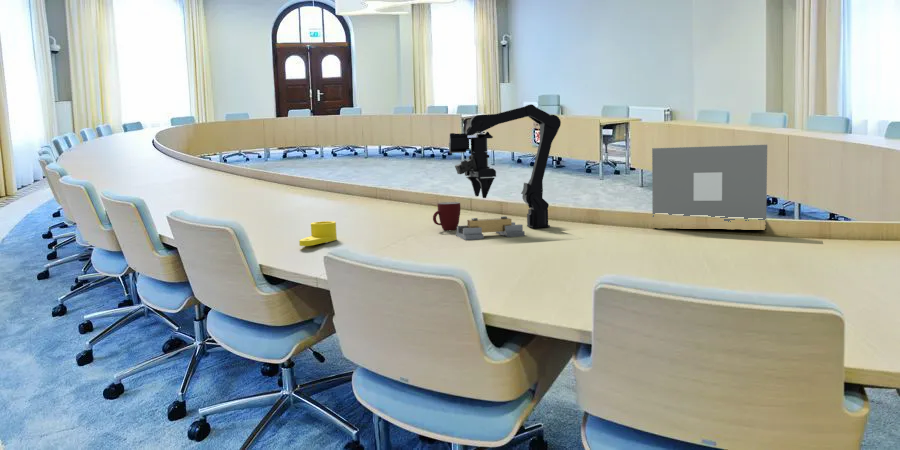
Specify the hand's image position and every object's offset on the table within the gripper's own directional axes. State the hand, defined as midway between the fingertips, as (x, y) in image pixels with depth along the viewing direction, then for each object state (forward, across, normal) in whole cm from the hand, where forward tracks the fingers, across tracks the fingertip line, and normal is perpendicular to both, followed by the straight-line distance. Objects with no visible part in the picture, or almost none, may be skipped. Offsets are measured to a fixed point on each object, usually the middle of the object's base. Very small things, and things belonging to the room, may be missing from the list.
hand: (480, 197), depth 240 cm
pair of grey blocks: (+12, +13, -1) cm, 18 cm away
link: (+10, +13, -1) cm, 17 cm away
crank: (+12, -3, -57) cm, 58 cm away
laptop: (+12, +22, +75) cm, 79 cm away
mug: (+12, -6, -11) cm, 17 cm away
